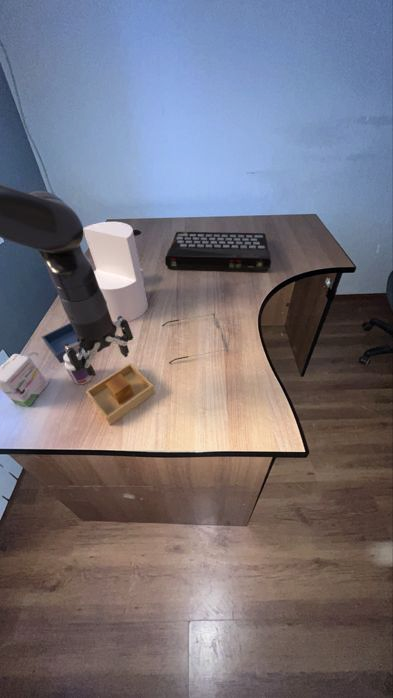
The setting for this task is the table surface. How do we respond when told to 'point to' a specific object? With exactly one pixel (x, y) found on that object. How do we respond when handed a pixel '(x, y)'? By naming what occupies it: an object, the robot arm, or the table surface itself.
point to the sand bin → (116, 411)
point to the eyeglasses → (216, 326)
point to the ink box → (21, 380)
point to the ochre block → (119, 388)
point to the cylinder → (117, 268)
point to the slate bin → (60, 340)
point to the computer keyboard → (219, 252)
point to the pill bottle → (77, 376)
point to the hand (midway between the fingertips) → (109, 364)
